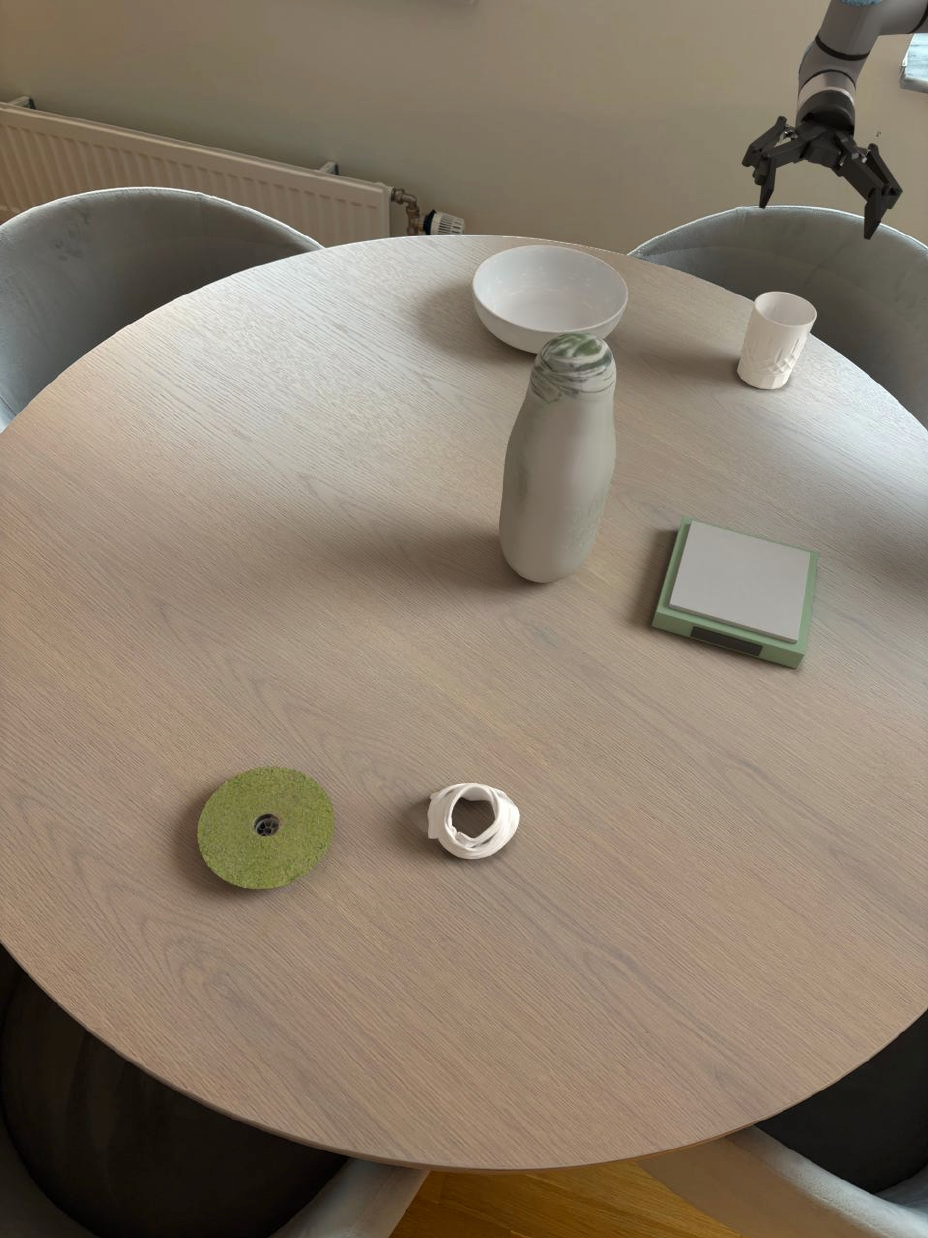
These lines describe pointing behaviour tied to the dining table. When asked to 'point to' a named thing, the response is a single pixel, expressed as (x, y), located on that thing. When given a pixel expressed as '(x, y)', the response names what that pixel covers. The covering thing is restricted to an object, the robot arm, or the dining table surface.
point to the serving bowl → (547, 295)
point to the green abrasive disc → (265, 827)
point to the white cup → (774, 338)
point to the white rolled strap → (460, 842)
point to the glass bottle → (559, 459)
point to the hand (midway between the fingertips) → (819, 214)
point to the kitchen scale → (738, 592)
